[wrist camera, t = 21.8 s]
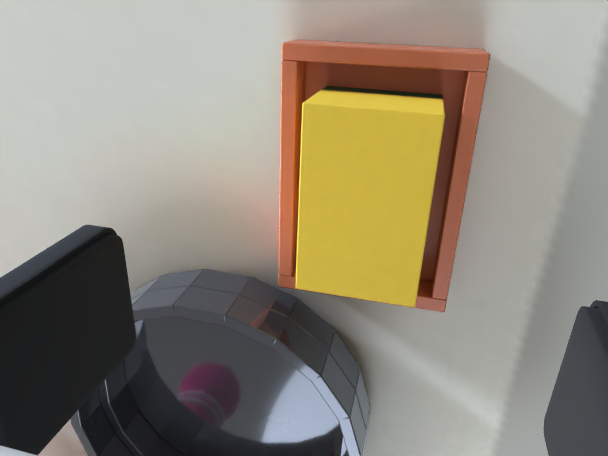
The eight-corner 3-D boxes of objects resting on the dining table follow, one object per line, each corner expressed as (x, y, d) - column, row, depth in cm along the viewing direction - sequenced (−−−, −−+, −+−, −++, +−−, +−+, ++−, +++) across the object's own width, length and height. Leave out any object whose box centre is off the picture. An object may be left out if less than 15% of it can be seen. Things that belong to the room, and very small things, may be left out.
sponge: (326, 85, 20) (302, 102, 16) (443, 94, 19) (445, 114, 15) (317, 244, 22) (295, 288, 19) (418, 258, 22) (415, 308, 18)
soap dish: (295, 39, 20) (281, 42, 18) (485, 49, 18) (490, 53, 16) (289, 266, 24) (277, 286, 22) (443, 288, 22) (444, 312, 21)
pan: (266, 215, 23) (235, 252, 19) (422, 450, 26) (420, 519, 23) (63, 326, 29) (11, 370, 26) (211, 506, 32) (184, 567, 29)
